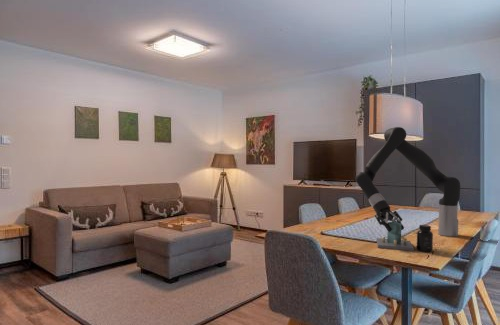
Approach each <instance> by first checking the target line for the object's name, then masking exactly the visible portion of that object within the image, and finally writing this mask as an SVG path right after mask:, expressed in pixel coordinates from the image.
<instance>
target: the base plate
mask: <svg viewBox="0 0 500 325" xmlns="http://www.w3.org/2000/svg"><path fill="white" fill-rule="evenodd" d="M376 244H377V248H378V249H387V250H398V251H399V250H400V251H411V252H414V250H415V248H414V246H413V244H412V242H411V241H410V240H407V238H406V237H405V238H403V240H402V239H401V243H400V244H397V240H394V244H392V243H389V242H387V238H386V236H382V238H379V237H377V238H376Z"/></svg>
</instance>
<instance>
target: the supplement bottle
mask: <svg viewBox="0 0 500 325" xmlns="http://www.w3.org/2000/svg"><path fill="white" fill-rule="evenodd" d="M431 230H432V229H431V225H429V224H420V225H419V227H418V230H417V231H416V250H417V251H419V252H420V253H421V252H422V253H432V252H433V248H434V247H433V246H434V245H433V243H434V233H433V232H432V231H431Z"/></svg>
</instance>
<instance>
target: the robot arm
mask: <svg viewBox="0 0 500 325" xmlns="http://www.w3.org/2000/svg"><path fill="white" fill-rule="evenodd" d="M383 136H384V137H383V138H384V140H385V143H384V144H383V146H382V147H381V148H380V149H379V150H377V151H376V153H374V154H373V156H371V158H370V159H369V160H368V162H367V163H366V165H365V167H364V171H360V172H358V173H356V175H355V177H354V178H355V182H356V183H357V186H358V187H360V189H361V190H362V192H363V193H364V195H365V197H366V198H367V200H368V202H369V204H370V205H371V207H372V209H373V211H374V212H375V213H376V214H374V218H375V219H376V221H377V222H378V224H379V225H380V226H383V227H385V230H387V233H388V232H390V231H391V230H392V228H391V227H390V225H389V224H388V222H398V223H401V231H403V230H405V227H404V224H403V223H402V221H403V218H402V216H400V214H399V212H397V210H394V211H393V212H392V210H391V206H390V204H389V203H388V202H387V200H386V199H385V197H384V196H383V195H382V194H381V193H380V191H379V190H378V189H377V187H376V186H375V185H374V183H373V181H374V179H375V177H376V175H377V173H378V172H379V170H380V169H381V167H382V166H383V165H384V163H385V162H386V161H387V159H388V158H389V157H390V156H391V155H392V153H393V152H394V151H395V150H396V151H398V153H400V154H402V155H403V157H404V158H405V159H407V160H408V162H409V163H411V164H412V166H414V167H415V168H416V169H417V170H418V171H420V172H421V173H422V175H424V176H425V177H427V179H429V180H430V181H431V182H432V184H433V185H434V186H435V187H436V188H437V189H438V190H439V191H440V192H443V197H441V198H440V199H439V200H438V230H437V231H438V235H440V236H443V237H459V219H458V206H459V204H458V203H459V201H460V198H461V197H460V196H461V182H460V180H459V179H458V178H456V177H453V176H448V175H445V174H444V173H443V172H441V171H440V170H439V169H438V168H437V165H436V164H435V162H434V160H433V159H432V157H431V156H430V155H428V154H427V153H426V152H425V151H424V150H422V149H421V148H419V147H417V146H415V145H412V144H411V143H409V142H408V141H407V140H406V138H407V131H406V130H405V129H404V128H403V127H401V126H395V127H392V128H391V127H390V128H388V129H386V130H385V131H384V132H383Z"/></svg>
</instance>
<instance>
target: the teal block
mask: <svg viewBox="0 0 500 325" xmlns="http://www.w3.org/2000/svg"><path fill="white" fill-rule="evenodd" d="M401 223H402V222H401ZM401 223H398V222H392V221H388V224H389V225H390V227H391V228H392V230H391V231H390V232H388V231H387V237H386V239H387V242H389V243H392V244H394V240H397V244H400V243H401V240H402V230H401Z"/></svg>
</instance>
